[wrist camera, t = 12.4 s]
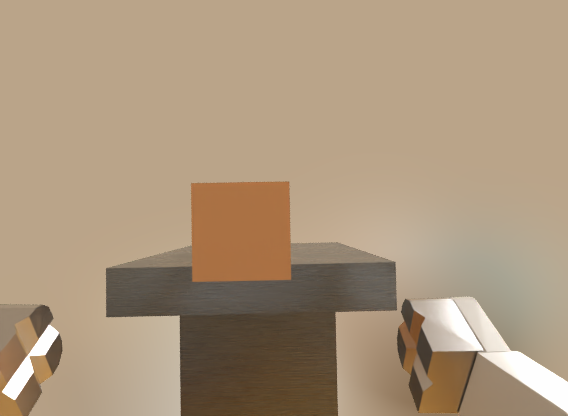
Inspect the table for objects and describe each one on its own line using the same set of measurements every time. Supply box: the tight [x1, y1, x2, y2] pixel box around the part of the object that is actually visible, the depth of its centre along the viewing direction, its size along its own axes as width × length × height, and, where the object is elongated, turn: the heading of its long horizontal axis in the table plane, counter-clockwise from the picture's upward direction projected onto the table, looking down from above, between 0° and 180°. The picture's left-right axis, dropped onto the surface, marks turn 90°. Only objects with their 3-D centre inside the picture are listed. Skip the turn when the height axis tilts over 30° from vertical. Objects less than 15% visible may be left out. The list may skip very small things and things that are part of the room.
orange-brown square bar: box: [191, 182, 291, 282], centre depth 24 cm, size 24×3×3 cm, turn 1°
